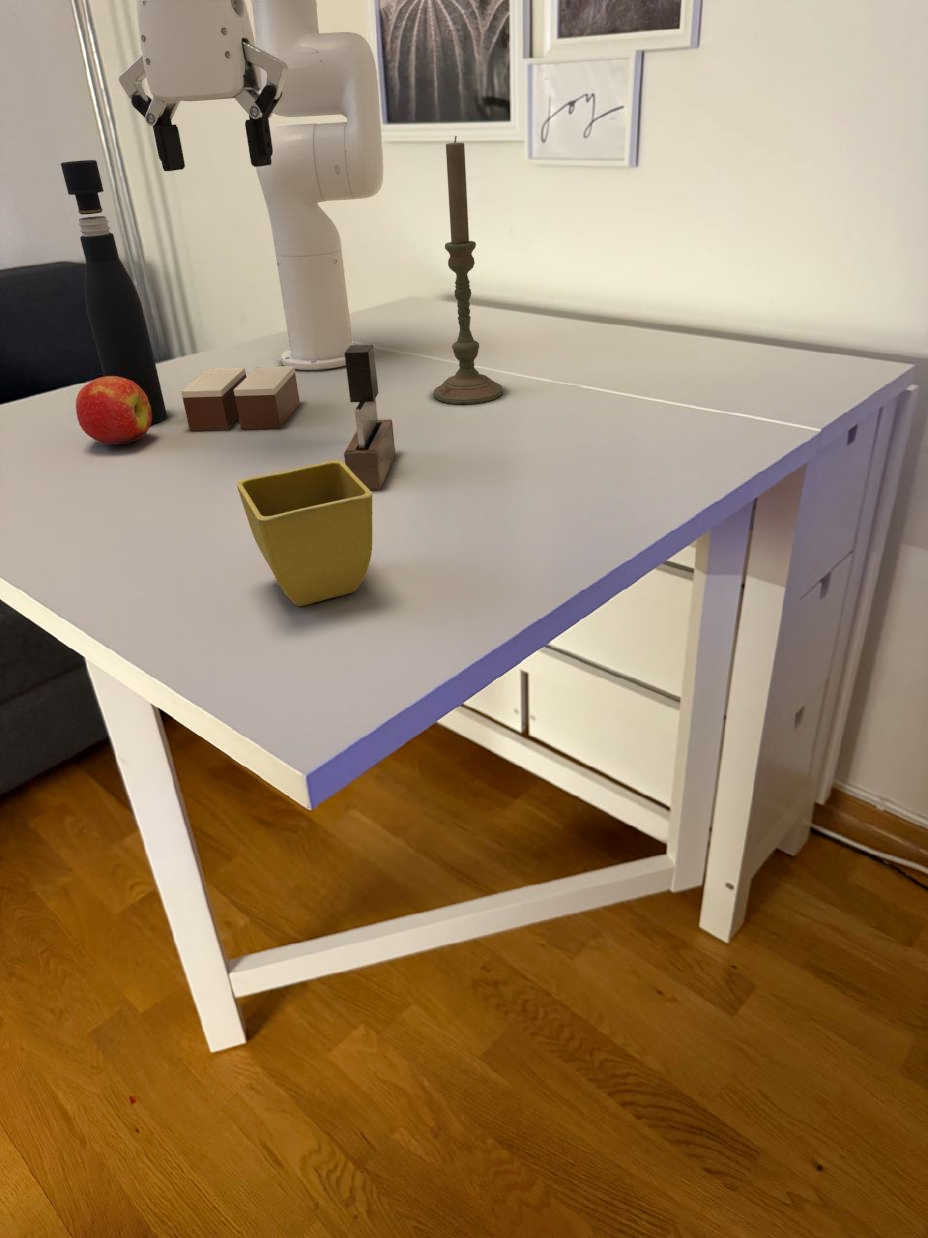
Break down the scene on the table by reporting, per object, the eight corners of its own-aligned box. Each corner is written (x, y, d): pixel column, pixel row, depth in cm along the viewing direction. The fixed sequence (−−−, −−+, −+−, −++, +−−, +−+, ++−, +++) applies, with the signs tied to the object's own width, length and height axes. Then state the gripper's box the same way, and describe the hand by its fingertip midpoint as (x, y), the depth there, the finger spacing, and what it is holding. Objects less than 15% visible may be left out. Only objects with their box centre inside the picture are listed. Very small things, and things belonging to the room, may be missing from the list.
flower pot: (278, 626, 69) (257, 518, 64) (254, 579, 76) (234, 479, 71) (386, 598, 72) (374, 493, 67) (353, 555, 79) (340, 458, 74)
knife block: (366, 454, 101) (362, 419, 99) (395, 453, 100) (392, 419, 98) (348, 490, 92) (343, 453, 90) (380, 489, 91) (376, 452, 89)
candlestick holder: (513, 386, 120) (506, 131, 105) (486, 407, 113) (474, 137, 98) (452, 381, 124) (436, 134, 108) (421, 401, 116) (400, 140, 101)
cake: (215, 406, 120) (208, 368, 117) (251, 405, 119) (245, 367, 117) (189, 430, 111) (180, 391, 109) (228, 429, 111) (220, 389, 108)
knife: (368, 458, 100) (354, 338, 93) (390, 457, 99) (377, 338, 93) (354, 486, 93) (338, 359, 86) (377, 485, 92) (363, 358, 86)
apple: (130, 456, 104) (113, 388, 100) (70, 453, 107) (51, 386, 103) (169, 434, 111) (154, 369, 107) (111, 431, 113) (94, 367, 109)
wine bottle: (152, 428, 113) (88, 162, 98) (106, 427, 115) (36, 164, 99) (176, 412, 119) (118, 157, 103) (132, 411, 120) (69, 160, 105)
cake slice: (263, 404, 119) (257, 366, 117) (300, 403, 119) (294, 365, 116) (240, 429, 111) (233, 389, 108) (280, 428, 110) (273, 388, 108)
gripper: (287, -50, 82) (313, 161, 90) (121, -31, 86) (161, 169, 94) (249, -62, 75) (281, 166, 84) (73, -40, 80) (120, 174, 88)
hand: (217, 167), depth 89 cm, fingers open, 9 cm apart
